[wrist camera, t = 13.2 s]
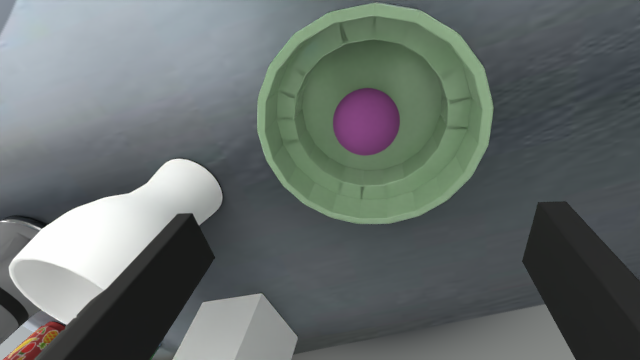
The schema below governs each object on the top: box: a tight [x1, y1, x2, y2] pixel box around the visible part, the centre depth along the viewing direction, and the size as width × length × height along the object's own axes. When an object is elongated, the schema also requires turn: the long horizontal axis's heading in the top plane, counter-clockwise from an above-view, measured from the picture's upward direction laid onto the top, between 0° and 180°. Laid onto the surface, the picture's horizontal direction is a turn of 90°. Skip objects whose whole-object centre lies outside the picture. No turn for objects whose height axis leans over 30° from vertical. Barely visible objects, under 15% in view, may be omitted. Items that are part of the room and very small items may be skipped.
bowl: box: [257, 2, 494, 224], centre depth 21 cm, size 15×15×6 cm
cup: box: [9, 159, 223, 325], centre depth 26 cm, size 11×11×15 cm
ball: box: [333, 88, 400, 156], centre depth 21 cm, size 5×5×5 cm
